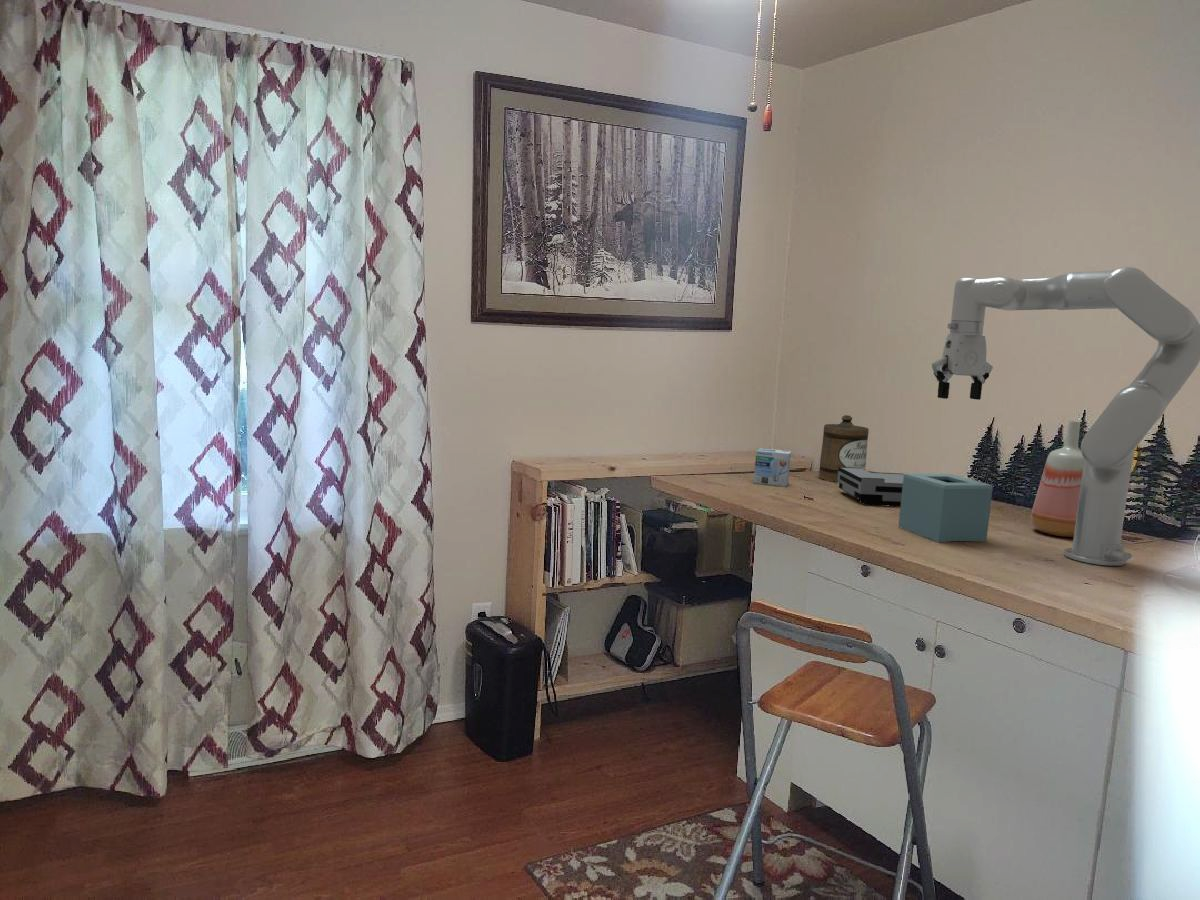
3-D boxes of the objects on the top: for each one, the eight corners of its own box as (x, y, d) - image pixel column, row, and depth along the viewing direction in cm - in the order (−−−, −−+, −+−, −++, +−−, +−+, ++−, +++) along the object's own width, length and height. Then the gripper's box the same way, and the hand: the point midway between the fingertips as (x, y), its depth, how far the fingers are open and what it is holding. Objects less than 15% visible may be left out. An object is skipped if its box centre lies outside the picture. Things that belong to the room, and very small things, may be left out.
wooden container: (848, 485, 292) (854, 418, 289) (810, 477, 303) (815, 413, 300) (872, 481, 302) (878, 417, 299) (834, 474, 313) (840, 412, 310)
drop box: (986, 541, 220) (992, 485, 218) (938, 542, 216) (944, 485, 214) (944, 526, 235) (949, 473, 233) (898, 527, 231) (903, 473, 229)
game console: (966, 510, 260) (969, 483, 259) (858, 506, 258) (861, 478, 257) (936, 497, 281) (938, 471, 279) (836, 492, 279) (838, 466, 277)
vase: (1057, 526, 243) (1071, 418, 239) (1103, 539, 230) (1119, 425, 225) (1016, 528, 238) (1030, 417, 233) (1062, 541, 224) (1077, 424, 220)
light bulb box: (752, 483, 285) (755, 450, 284) (755, 480, 292) (758, 447, 290) (786, 486, 282) (789, 453, 281) (788, 483, 289) (791, 450, 287)
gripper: (947, 327, 213) (940, 399, 215) (1006, 331, 218) (998, 401, 221) (927, 327, 220) (919, 396, 222) (984, 330, 225) (976, 398, 228)
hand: (959, 398), depth 221 cm, fingers open, 9 cm apart
